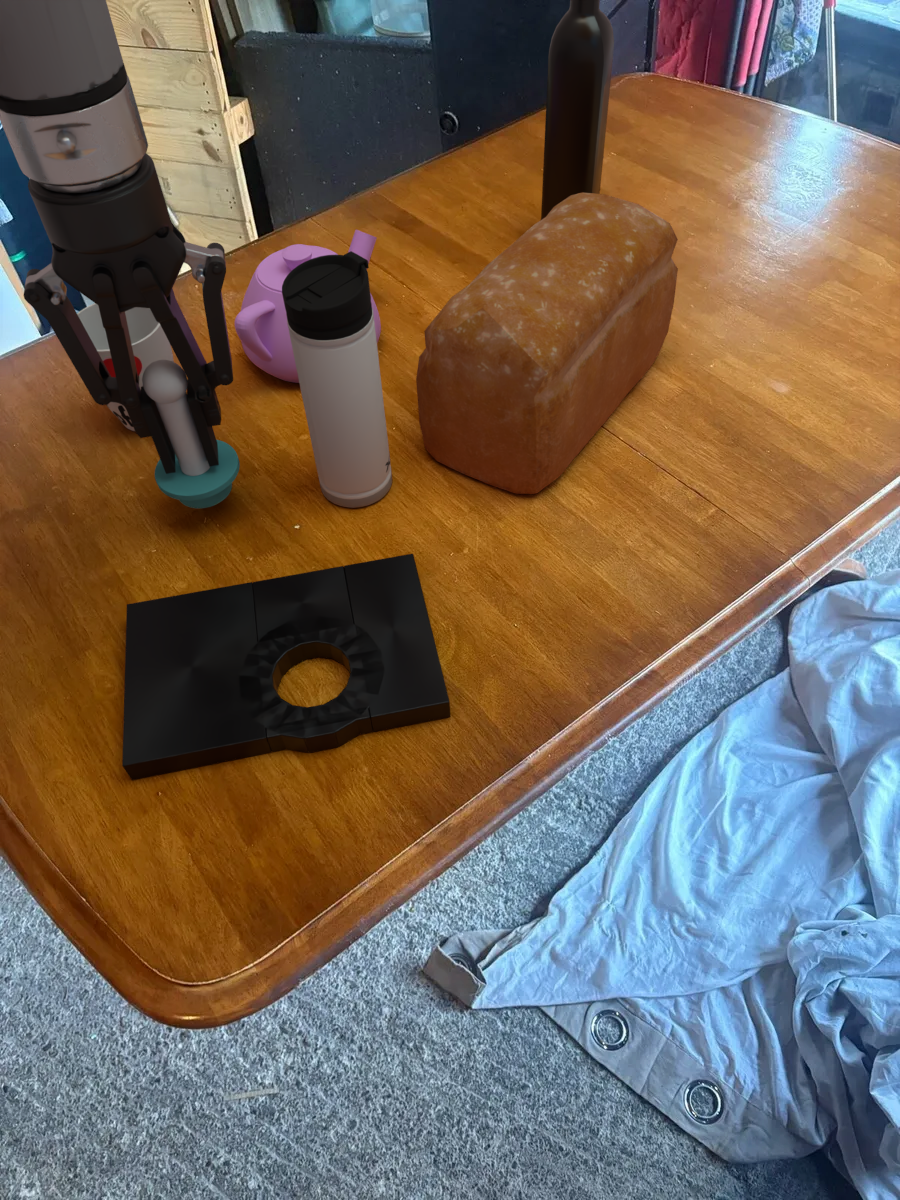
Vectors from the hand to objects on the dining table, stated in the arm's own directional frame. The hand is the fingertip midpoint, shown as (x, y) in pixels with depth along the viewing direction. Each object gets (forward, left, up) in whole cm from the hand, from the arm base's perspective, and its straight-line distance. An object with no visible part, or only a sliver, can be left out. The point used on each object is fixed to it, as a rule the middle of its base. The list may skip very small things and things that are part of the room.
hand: (191, 457), depth 72 cm
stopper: (0, 0, -4) cm, 4 cm away
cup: (-5, +14, -6) cm, 16 cm away
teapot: (+12, +21, -6) cm, 25 cm away
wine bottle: (+42, +34, -6) cm, 54 cm away
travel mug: (+13, 0, -6) cm, 14 cm away
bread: (+32, +7, -6) cm, 33 cm away
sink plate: (+5, -18, -6) cm, 20 cm away
